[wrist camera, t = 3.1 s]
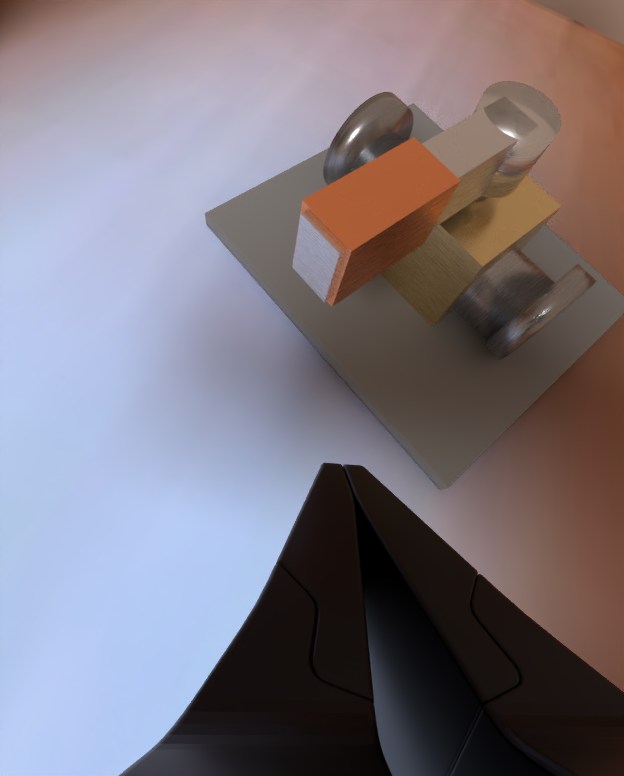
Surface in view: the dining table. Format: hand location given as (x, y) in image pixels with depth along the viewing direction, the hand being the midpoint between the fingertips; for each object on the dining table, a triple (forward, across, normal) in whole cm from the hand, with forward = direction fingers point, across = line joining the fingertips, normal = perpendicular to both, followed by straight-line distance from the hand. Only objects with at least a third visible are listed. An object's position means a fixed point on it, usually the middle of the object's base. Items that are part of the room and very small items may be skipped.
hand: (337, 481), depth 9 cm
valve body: (+16, -6, -2) cm, 17 cm away
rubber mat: (+16, -6, -2) cm, 17 cm away
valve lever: (+9, -3, -5) cm, 11 cm away
